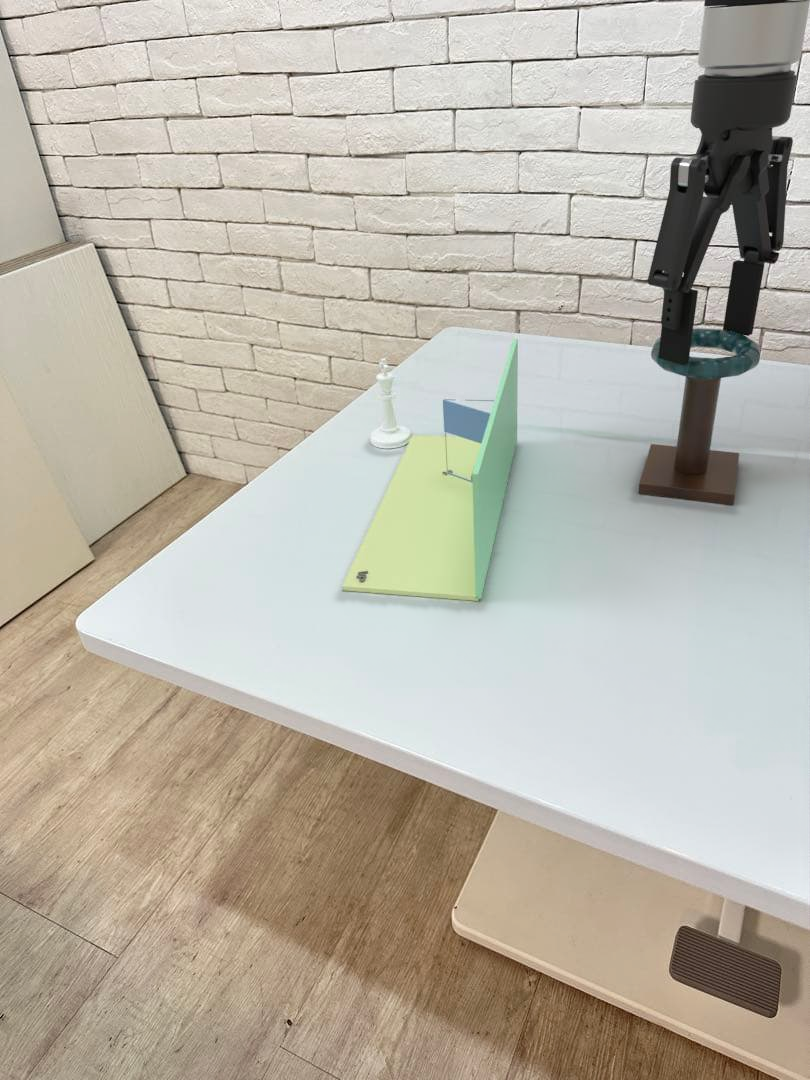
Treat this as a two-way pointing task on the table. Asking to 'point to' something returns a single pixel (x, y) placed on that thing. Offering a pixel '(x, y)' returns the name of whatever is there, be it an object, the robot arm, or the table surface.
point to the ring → (714, 367)
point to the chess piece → (388, 415)
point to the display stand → (444, 504)
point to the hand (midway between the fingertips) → (706, 345)
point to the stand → (693, 453)
